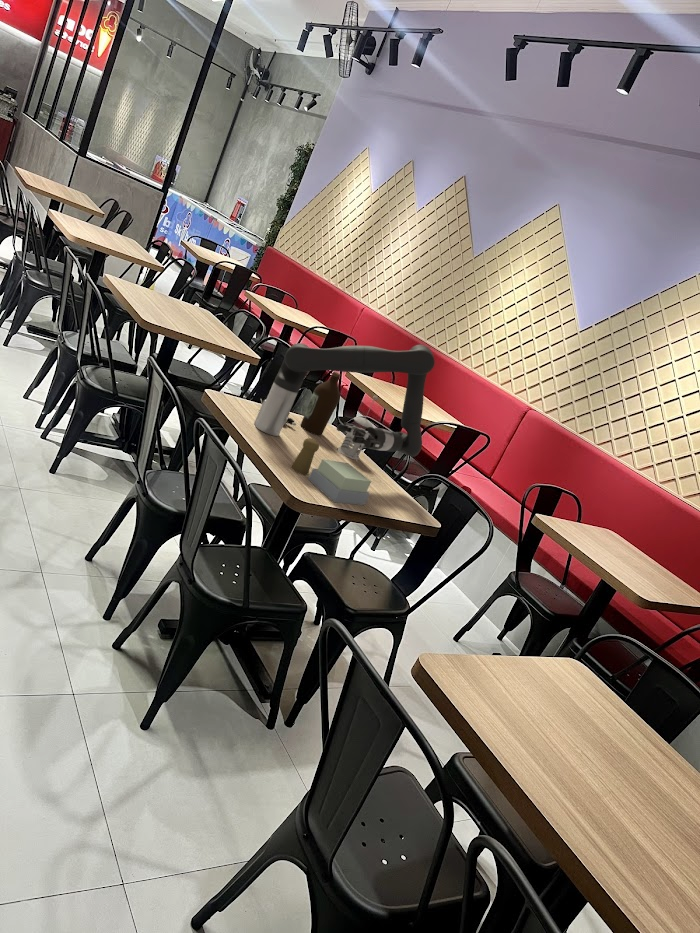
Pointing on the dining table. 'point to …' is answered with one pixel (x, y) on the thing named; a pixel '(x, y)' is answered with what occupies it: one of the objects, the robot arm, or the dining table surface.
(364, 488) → the green and grey box
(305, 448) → the olive pepper mill
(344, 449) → the french press
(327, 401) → the olive oil
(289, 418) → the robot toy
